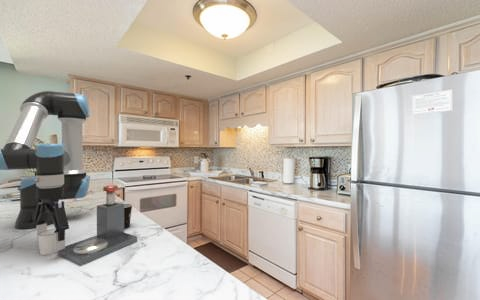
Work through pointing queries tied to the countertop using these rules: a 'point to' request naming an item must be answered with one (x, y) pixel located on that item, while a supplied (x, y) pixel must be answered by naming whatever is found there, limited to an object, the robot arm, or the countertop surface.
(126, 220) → the coffee mug
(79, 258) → the press
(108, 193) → the ram
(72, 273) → the countertop surface
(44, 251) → the white tapered cup
